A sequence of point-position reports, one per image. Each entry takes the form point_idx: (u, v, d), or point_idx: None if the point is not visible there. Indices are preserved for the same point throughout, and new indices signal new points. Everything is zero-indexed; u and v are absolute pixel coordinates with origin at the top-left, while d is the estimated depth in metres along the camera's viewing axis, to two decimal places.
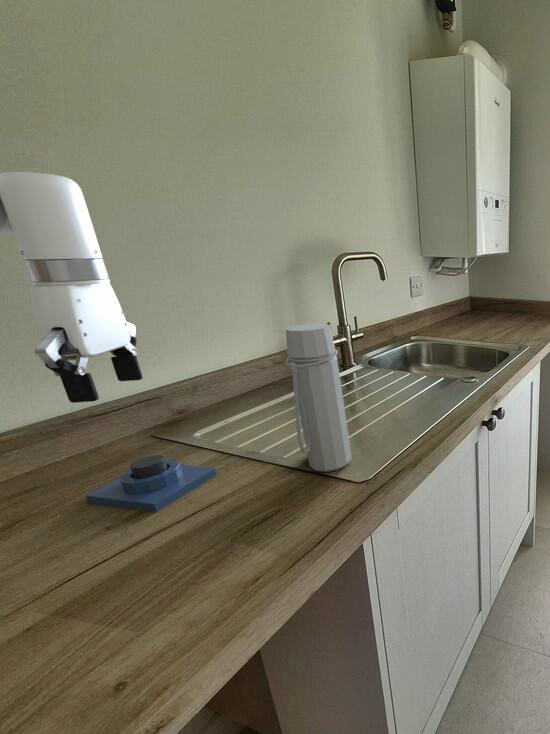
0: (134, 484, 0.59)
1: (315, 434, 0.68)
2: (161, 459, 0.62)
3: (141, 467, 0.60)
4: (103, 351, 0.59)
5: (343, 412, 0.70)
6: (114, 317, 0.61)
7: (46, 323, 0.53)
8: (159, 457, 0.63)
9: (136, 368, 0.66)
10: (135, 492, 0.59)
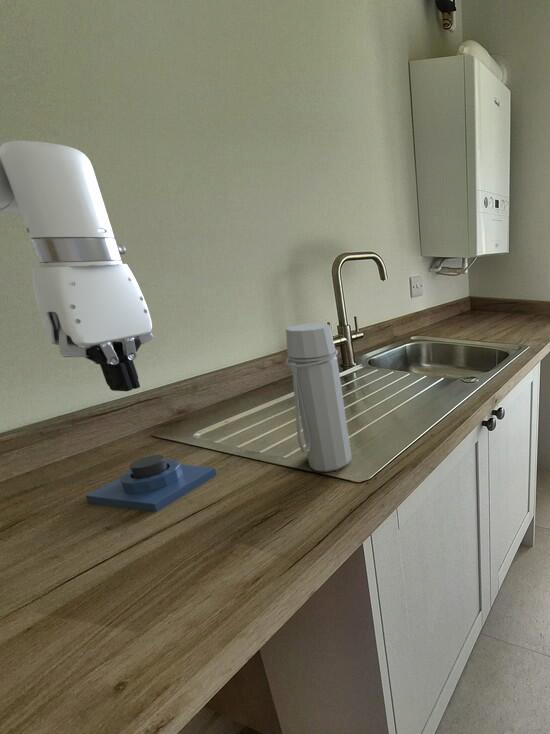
0: (134, 484, 0.59)
1: (315, 434, 0.68)
2: (161, 459, 0.62)
3: (141, 467, 0.60)
4: (106, 340, 0.54)
5: (343, 412, 0.70)
6: (126, 303, 0.56)
7: (43, 307, 0.50)
8: (159, 457, 0.63)
9: (131, 375, 0.57)
10: (135, 492, 0.59)
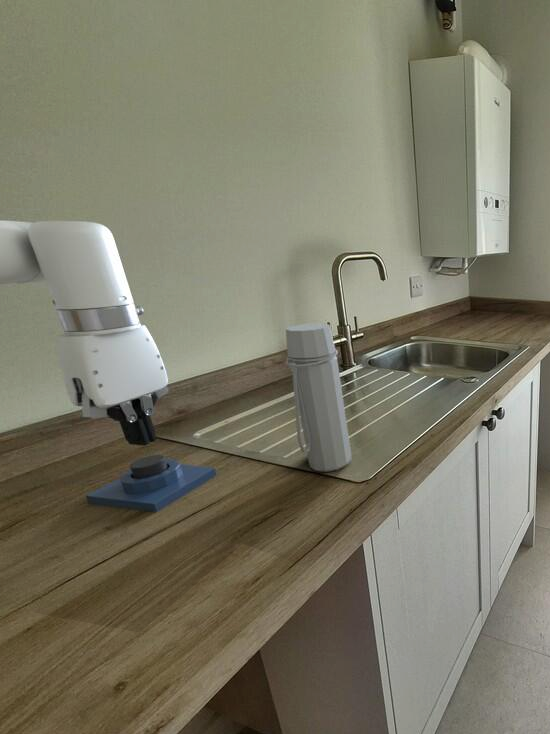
0: (134, 484, 0.59)
1: (315, 434, 0.68)
2: (161, 459, 0.62)
3: (141, 467, 0.60)
4: (126, 399, 0.56)
5: (343, 412, 0.70)
6: (144, 363, 0.58)
7: (67, 373, 0.52)
8: (159, 457, 0.63)
9: (148, 430, 0.60)
10: (135, 492, 0.59)
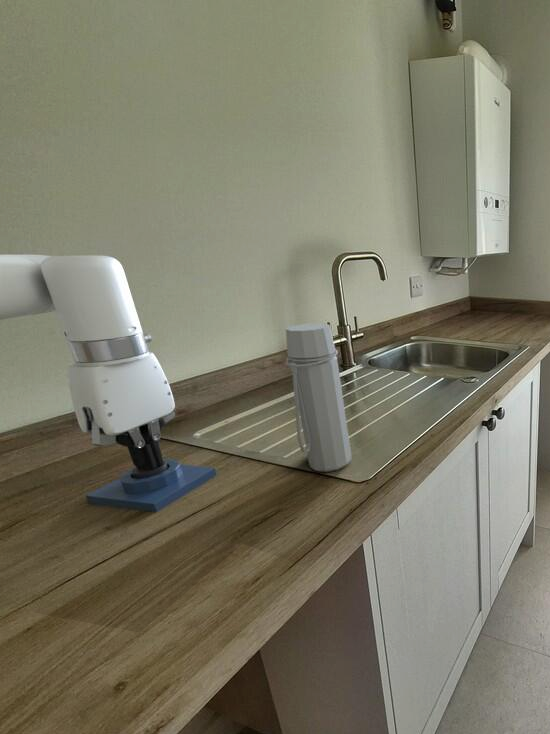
0: (134, 484, 0.59)
1: (315, 434, 0.68)
2: (163, 465, 0.63)
3: (143, 473, 0.60)
4: (134, 426, 0.58)
5: (343, 412, 0.70)
6: (152, 390, 0.60)
7: (78, 402, 0.54)
8: None
9: (156, 455, 0.61)
10: (135, 492, 0.59)
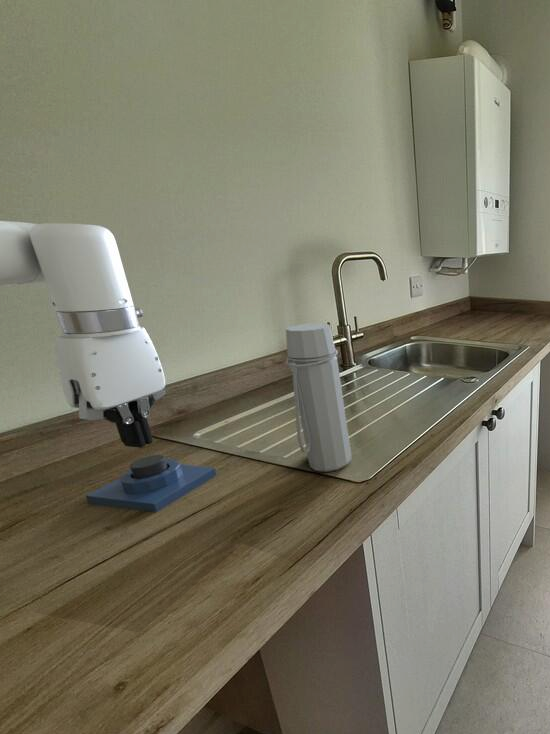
0: (134, 484, 0.59)
1: (315, 434, 0.68)
2: (161, 459, 0.62)
3: (141, 467, 0.60)
4: (123, 402, 0.57)
5: (343, 412, 0.70)
6: (143, 365, 0.58)
7: (65, 375, 0.52)
8: (159, 457, 0.63)
9: (144, 432, 0.60)
10: (135, 492, 0.59)
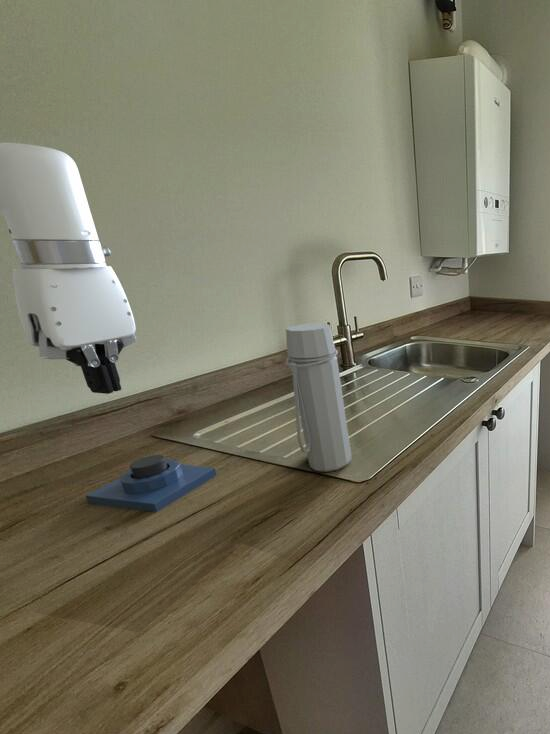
0: (134, 484, 0.59)
1: (315, 434, 0.68)
2: (161, 459, 0.62)
3: (141, 467, 0.60)
4: (87, 342, 0.54)
5: (343, 412, 0.70)
6: (109, 306, 0.55)
7: (23, 308, 0.49)
8: (159, 457, 0.63)
9: (112, 378, 0.57)
10: (135, 492, 0.59)
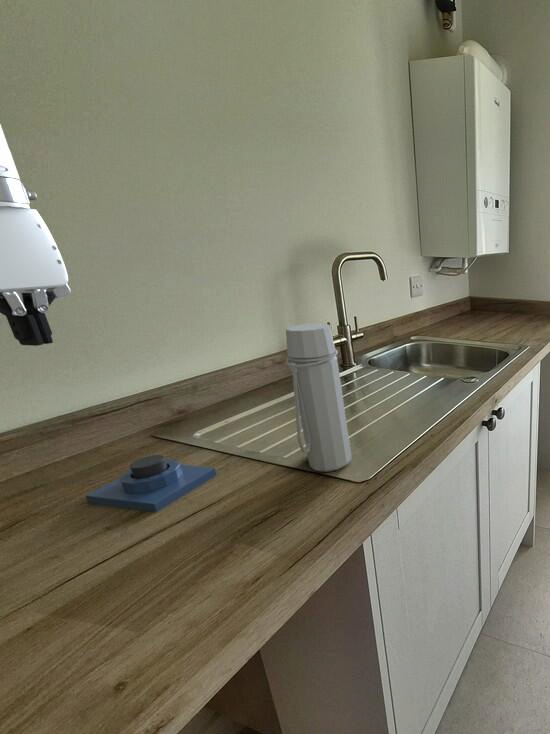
0: (134, 484, 0.59)
1: (315, 434, 0.68)
2: (161, 459, 0.62)
3: (141, 467, 0.60)
4: (9, 288, 0.51)
5: (343, 412, 0.70)
6: (35, 251, 0.52)
7: None
8: (159, 457, 0.63)
9: (42, 329, 0.54)
10: (135, 492, 0.59)
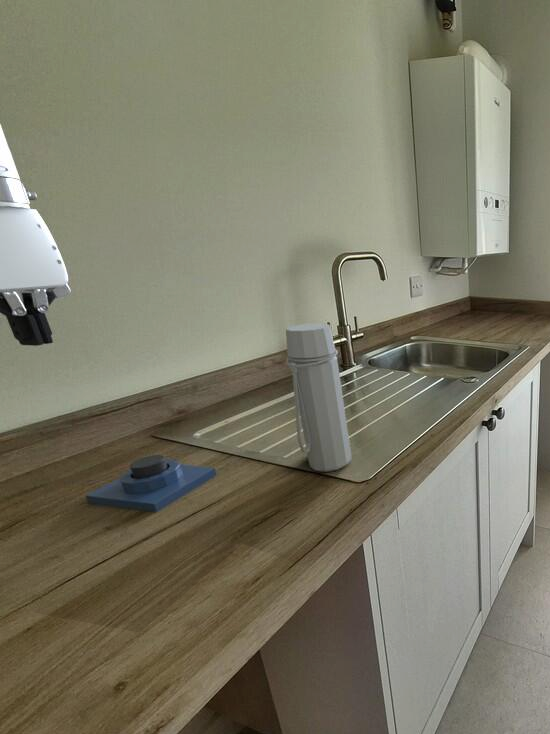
0: (134, 484, 0.59)
1: (315, 434, 0.68)
2: (161, 459, 0.62)
3: (141, 467, 0.60)
4: (9, 288, 0.51)
5: (343, 412, 0.70)
6: (35, 251, 0.52)
7: None
8: (159, 457, 0.63)
9: (42, 329, 0.54)
10: (135, 492, 0.59)
